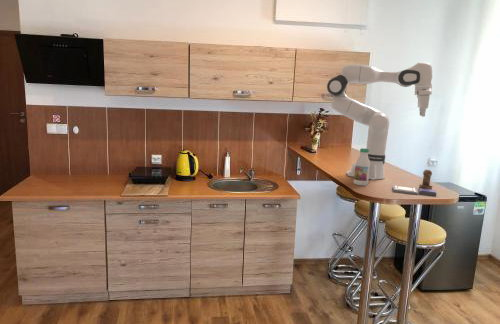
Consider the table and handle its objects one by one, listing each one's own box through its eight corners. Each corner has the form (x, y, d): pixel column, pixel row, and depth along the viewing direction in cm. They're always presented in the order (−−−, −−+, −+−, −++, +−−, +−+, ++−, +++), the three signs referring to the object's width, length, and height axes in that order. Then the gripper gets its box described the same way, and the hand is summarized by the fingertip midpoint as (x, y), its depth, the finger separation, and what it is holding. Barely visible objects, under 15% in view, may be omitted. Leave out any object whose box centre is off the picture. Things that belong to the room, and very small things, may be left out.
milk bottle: (357, 181, 225) (361, 147, 221) (370, 184, 220) (374, 149, 217) (351, 183, 220) (354, 148, 216) (364, 186, 215) (368, 150, 211)
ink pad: (419, 194, 206) (419, 190, 205) (418, 191, 211) (418, 187, 211) (436, 196, 203) (436, 192, 203) (434, 193, 209) (435, 189, 209)
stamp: (419, 190, 215) (422, 169, 212) (418, 188, 219) (421, 168, 216) (431, 191, 213) (434, 171, 211) (430, 189, 217) (433, 169, 215)
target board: (393, 191, 208) (393, 189, 207) (392, 187, 217) (392, 184, 217) (417, 194, 204) (418, 192, 204) (415, 190, 214) (416, 187, 213)
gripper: (415, 91, 235) (414, 115, 237) (418, 91, 216) (417, 117, 218) (427, 91, 233) (426, 114, 235) (431, 91, 214) (430, 117, 216)
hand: (422, 116), depth 226 cm, fingers open, 8 cm apart
